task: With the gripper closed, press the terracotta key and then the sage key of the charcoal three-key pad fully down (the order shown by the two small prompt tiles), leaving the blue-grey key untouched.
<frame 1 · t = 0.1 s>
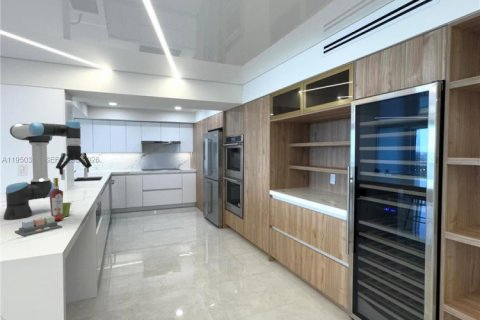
hand: (74, 178, 162), 28 cm above the countertop, fingers open, 13 cm apart
keypad: (39, 230, 148), on the countertop
key terracotta: (38, 222, 147), point 5 cm above the countertop, slide at 0.0 cm
key sage: (49, 219, 152), point 5 cm above the countertop, slide at 0.0 cm
plant pot: (63, 216, 179), on the countertop
liquor: (57, 220, 167), on the countertop
key bluegrey: (27, 224, 143), point 5 cm above the countertop, slide at 0.0 cm
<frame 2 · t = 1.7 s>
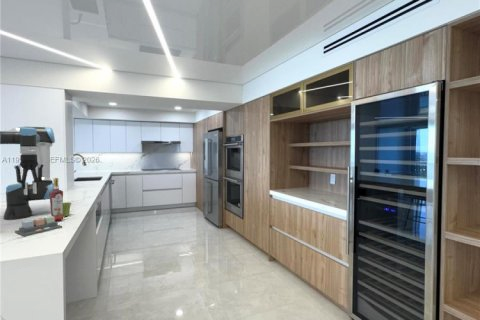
hand: (30, 193, 149), 21 cm above the countertop, fingers open, 4 cm apart
nothing on the countertop moved.
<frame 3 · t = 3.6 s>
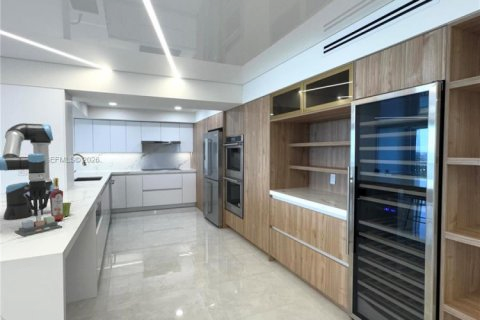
hand: (38, 221, 147), 5 cm above the countertop, fingers closed
key terracotta: (38, 224, 147), point 3 cm above the countertop, slide at 1.2 cm, touching gripper
everything else where it was.
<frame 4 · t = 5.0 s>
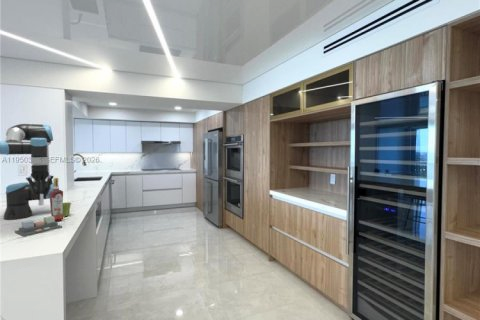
hand: (41, 205, 148), 14 cm above the countertop, fingers closed
key terracotta: (38, 225, 147), point 3 cm above the countertop, slide at 1.9 cm
everything else where it was.
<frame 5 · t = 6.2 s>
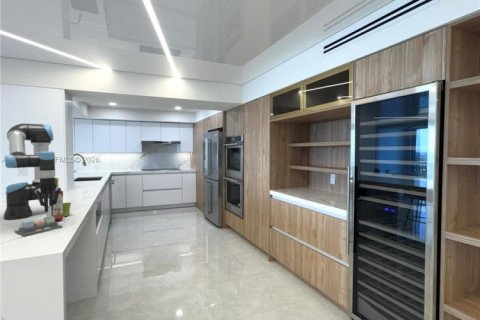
hand: (49, 216, 152), 7 cm above the countertop, fingers closed
key sage: (49, 219, 152), point 5 cm above the countertop, slide at 0.0 cm, touching gripper
everything else where it was.
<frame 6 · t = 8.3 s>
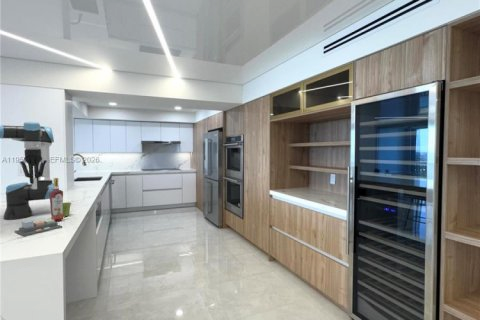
hand: (34, 188, 150), 23 cm above the countertop, fingers closed
key sage: (49, 223, 152), point 3 cm above the countertop, slide at 1.9 cm
everything else where it was.
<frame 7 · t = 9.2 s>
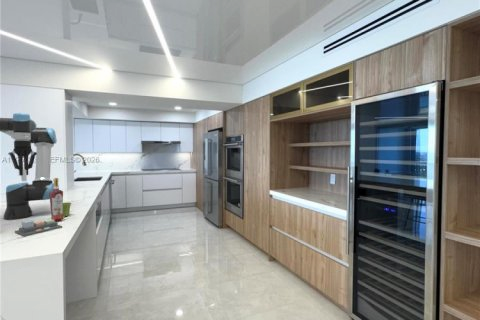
hand: (24, 180, 148), 28 cm above the countertop, fingers closed
nothing on the countertop moved.
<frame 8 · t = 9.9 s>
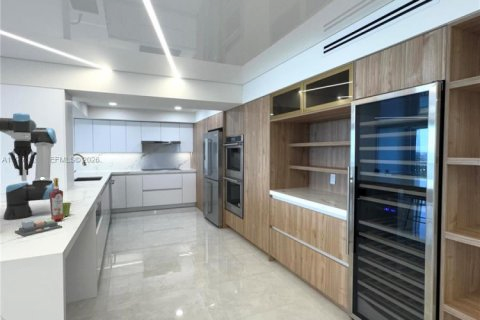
hand: (24, 180, 148), 28 cm above the countertop, fingers closed
nothing on the countertop moved.
at the end: key terracotta slide at 1.9 cm; key sage slide at 1.9 cm; key bluegrey slide at 0.0 cm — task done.
